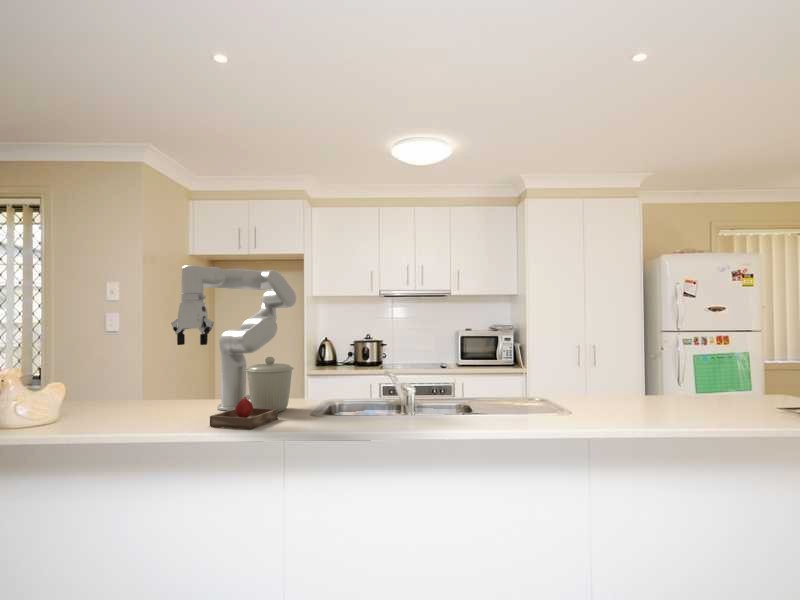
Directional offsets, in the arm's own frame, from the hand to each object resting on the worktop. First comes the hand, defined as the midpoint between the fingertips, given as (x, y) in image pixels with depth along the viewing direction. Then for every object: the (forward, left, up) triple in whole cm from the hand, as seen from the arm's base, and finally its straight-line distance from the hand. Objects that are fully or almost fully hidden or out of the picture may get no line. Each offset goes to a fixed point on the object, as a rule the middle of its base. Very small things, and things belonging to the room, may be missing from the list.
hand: (192, 344), depth 170 cm
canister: (-17, +22, -27) cm, 39 cm away
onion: (+3, +25, -26) cm, 36 cm away
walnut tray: (+3, +25, -27) cm, 37 cm away
